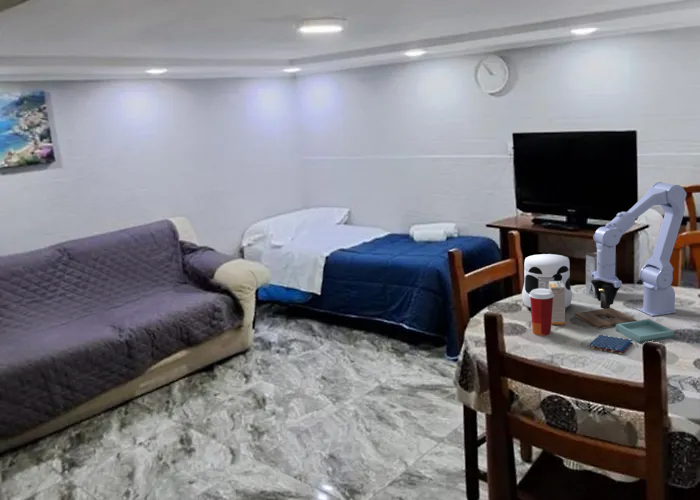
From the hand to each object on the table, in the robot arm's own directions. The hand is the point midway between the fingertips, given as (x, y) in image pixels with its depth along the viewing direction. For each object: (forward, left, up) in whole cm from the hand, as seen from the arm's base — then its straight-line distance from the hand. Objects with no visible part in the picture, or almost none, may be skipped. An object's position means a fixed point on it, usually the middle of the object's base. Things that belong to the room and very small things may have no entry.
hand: (605, 302), depth 219 cm
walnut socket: (0, 0, -6) cm, 6 cm away
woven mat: (+12, +21, -7) cm, 25 cm away
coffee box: (-14, -24, -6) cm, 28 cm away
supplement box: (+15, -5, -6) cm, 17 cm away
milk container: (+11, -19, -6) cm, 23 cm away
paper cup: (+25, +3, -6) cm, 26 cm away
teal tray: (-3, +16, -6) cm, 18 cm away
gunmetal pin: (0, 0, -2) cm, 2 cm away
